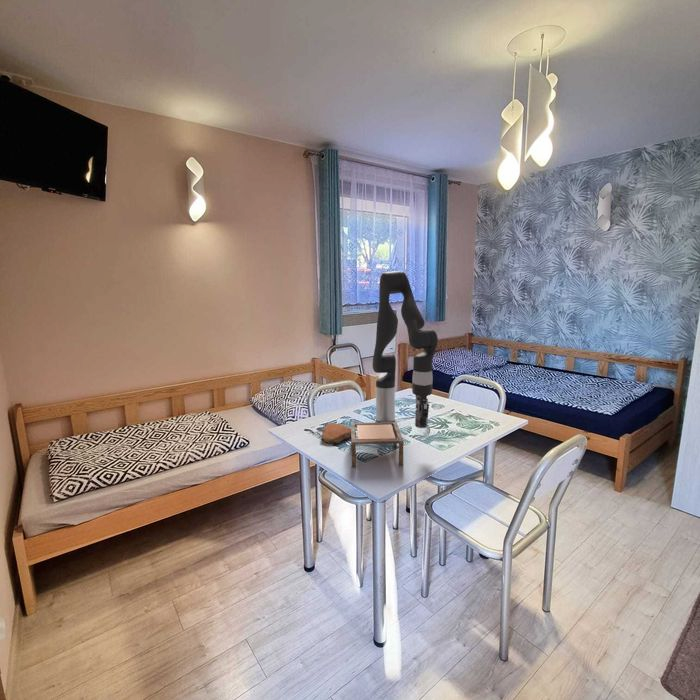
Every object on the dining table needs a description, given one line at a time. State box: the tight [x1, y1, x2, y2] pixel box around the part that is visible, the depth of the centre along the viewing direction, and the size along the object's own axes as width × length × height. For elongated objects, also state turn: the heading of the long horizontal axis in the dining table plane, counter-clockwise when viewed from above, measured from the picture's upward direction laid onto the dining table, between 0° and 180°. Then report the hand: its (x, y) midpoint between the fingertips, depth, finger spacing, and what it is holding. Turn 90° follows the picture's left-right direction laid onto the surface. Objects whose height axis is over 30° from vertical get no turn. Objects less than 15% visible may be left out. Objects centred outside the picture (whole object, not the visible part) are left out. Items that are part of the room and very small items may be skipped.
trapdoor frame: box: [350, 421, 404, 468], centre depth 151 cm, size 19×19×10 cm
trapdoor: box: [356, 424, 396, 440], centre depth 150 cm, size 14×14×1 cm
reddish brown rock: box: [321, 422, 357, 444], centre depth 170 cm, size 15×6×15 cm
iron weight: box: [414, 409, 429, 429], centre depth 149 cm, size 5×5×6 cm
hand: (421, 423), depth 150 cm, fingers closed on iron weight, 4 cm apart
